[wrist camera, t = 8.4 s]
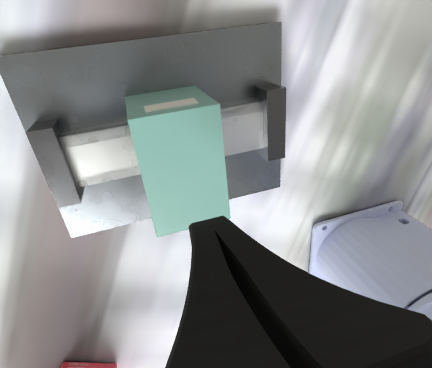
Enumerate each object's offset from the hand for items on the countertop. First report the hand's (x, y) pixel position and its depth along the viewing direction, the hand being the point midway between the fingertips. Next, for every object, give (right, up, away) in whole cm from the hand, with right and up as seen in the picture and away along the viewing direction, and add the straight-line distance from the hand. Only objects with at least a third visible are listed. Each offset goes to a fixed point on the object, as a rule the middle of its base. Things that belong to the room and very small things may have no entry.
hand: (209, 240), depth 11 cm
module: (-3, +5, +7) cm, 9 cm away
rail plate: (-3, +5, +8) cm, 10 cm away
